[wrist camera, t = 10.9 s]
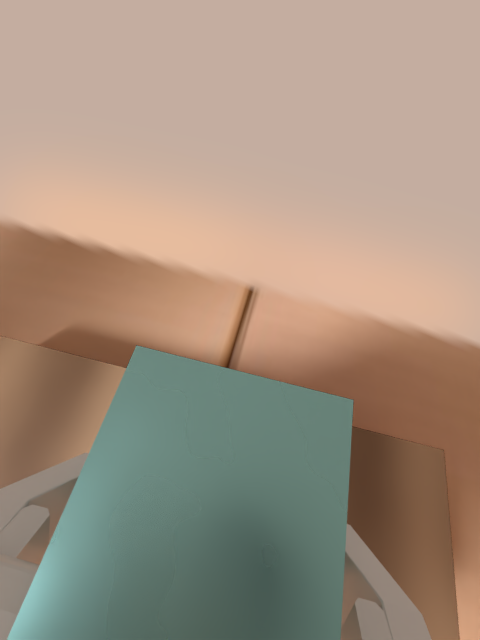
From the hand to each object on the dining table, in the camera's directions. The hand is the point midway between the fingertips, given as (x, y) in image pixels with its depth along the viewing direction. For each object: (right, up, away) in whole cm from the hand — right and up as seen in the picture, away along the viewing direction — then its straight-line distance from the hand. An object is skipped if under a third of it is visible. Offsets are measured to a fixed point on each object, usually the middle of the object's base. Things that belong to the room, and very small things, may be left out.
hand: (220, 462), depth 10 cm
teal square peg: (-1, -3, +5) cm, 6 cm away
